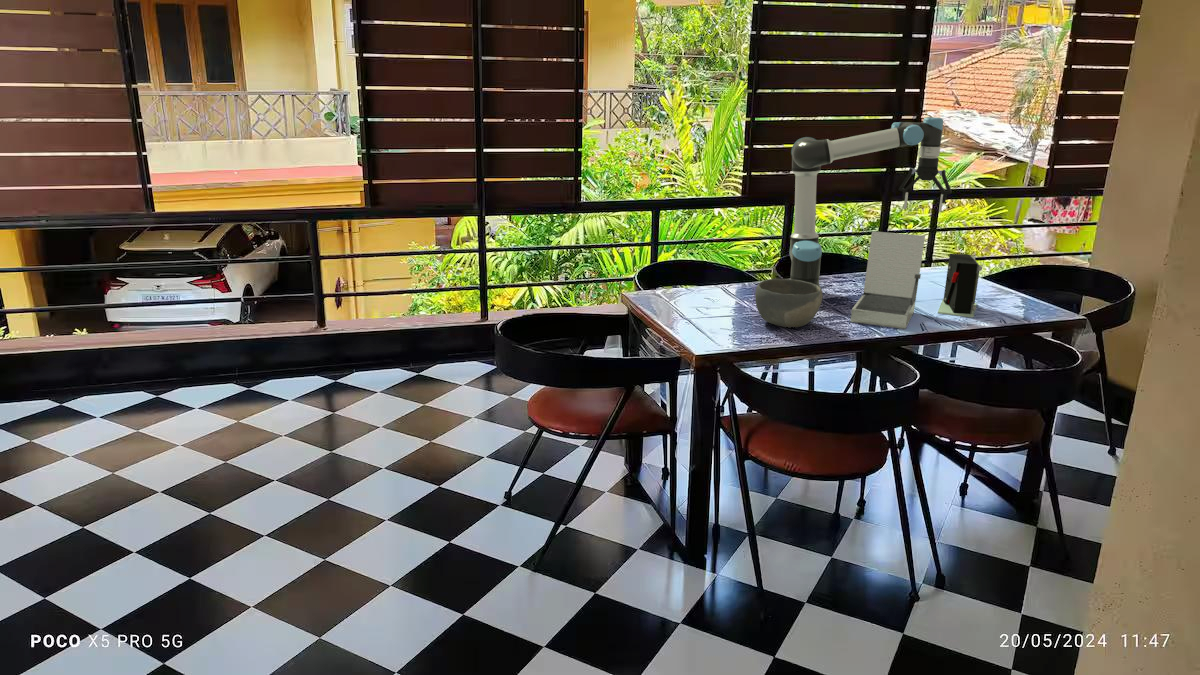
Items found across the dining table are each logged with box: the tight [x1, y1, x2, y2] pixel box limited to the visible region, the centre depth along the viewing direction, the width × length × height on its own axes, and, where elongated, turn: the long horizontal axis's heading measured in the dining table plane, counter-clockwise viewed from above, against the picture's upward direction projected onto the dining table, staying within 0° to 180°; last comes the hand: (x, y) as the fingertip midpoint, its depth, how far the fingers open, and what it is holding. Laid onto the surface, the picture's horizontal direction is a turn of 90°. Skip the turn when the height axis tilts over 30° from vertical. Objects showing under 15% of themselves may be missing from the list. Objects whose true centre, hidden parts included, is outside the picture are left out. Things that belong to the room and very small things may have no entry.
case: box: [850, 230, 926, 330], centre depth 325 cm, size 20×31×30 cm, turn 154°
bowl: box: [754, 278, 823, 329], centre depth 315 cm, size 24×24×15 cm
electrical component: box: [942, 253, 983, 314], centre depth 335 cm, size 18×10×20 cm, turn 167°
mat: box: [937, 298, 978, 318], centre depth 339 cm, size 13×21×1 cm, turn 154°
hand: (922, 209), depth 346 cm, fingers open, 13 cm apart
